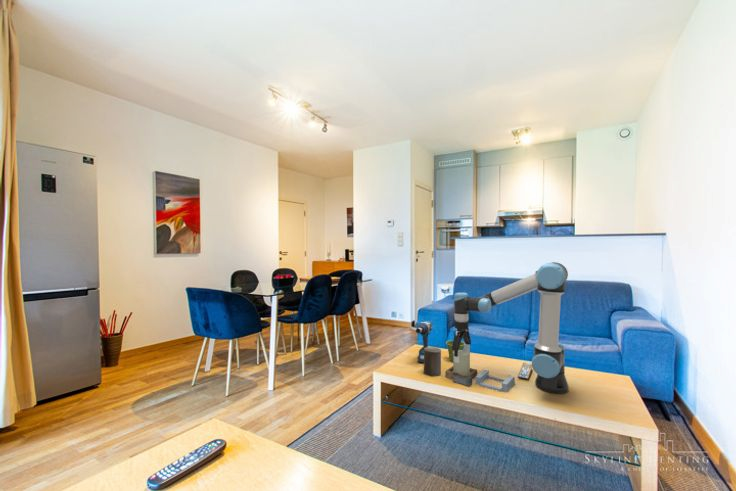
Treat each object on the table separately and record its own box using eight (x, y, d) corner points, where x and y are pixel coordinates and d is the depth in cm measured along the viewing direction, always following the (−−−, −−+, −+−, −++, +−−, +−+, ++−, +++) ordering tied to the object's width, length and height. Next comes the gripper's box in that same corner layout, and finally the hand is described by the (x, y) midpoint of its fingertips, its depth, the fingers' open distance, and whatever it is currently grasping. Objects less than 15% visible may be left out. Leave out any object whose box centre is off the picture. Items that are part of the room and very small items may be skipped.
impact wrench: (411, 366, 205) (411, 325, 205) (423, 355, 225) (423, 318, 225) (424, 368, 201) (424, 326, 201) (435, 357, 221) (435, 319, 221)
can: (457, 368, 196) (457, 348, 196) (472, 372, 190) (472, 351, 190) (450, 373, 189) (450, 351, 189) (465, 377, 183) (465, 355, 183)
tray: (477, 375, 190) (477, 369, 190) (467, 383, 180) (467, 376, 180) (455, 370, 198) (455, 364, 198) (445, 377, 188) (445, 370, 188)
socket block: (515, 383, 180) (515, 376, 180) (506, 393, 168) (506, 385, 168) (485, 376, 190) (485, 369, 190) (474, 384, 178) (474, 377, 178)
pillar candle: (425, 376, 190) (426, 349, 189) (422, 370, 199) (422, 344, 199) (442, 376, 190) (443, 349, 190) (438, 370, 200) (439, 344, 200)
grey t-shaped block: (472, 383, 179) (472, 377, 179) (469, 386, 176) (469, 379, 176) (456, 379, 184) (456, 372, 184) (452, 381, 181) (452, 375, 181)
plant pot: (453, 356, 224) (453, 339, 224) (468, 361, 215) (468, 343, 215) (441, 360, 216) (441, 342, 216) (457, 365, 207) (457, 346, 207)
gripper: (464, 316, 201) (464, 352, 201) (445, 323, 182) (445, 363, 182) (476, 317, 197) (477, 354, 196) (458, 325, 177) (458, 366, 177)
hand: (462, 359), depth 189 cm, fingers open, 13 cm apart
